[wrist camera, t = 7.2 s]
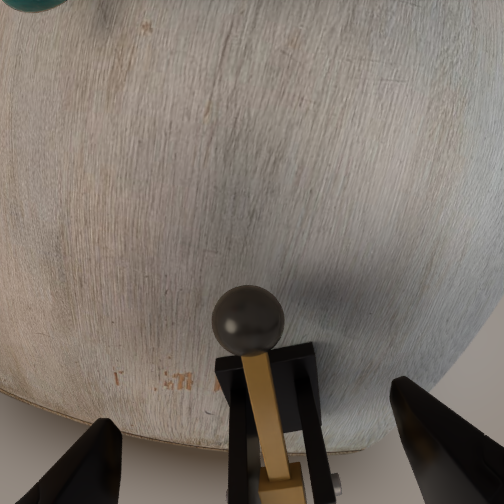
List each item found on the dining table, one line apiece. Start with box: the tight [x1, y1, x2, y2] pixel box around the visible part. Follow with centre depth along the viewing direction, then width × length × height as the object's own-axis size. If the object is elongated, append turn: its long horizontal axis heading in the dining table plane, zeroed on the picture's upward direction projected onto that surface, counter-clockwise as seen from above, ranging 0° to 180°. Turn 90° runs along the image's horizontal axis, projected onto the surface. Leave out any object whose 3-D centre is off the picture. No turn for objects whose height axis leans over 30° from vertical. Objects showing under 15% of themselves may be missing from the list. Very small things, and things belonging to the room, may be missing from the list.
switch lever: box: [212, 285, 307, 504], centre depth 13 cm, size 13×3×3 cm, turn 11°
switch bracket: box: [215, 342, 342, 504], centre depth 16 cm, size 8×6×10 cm
